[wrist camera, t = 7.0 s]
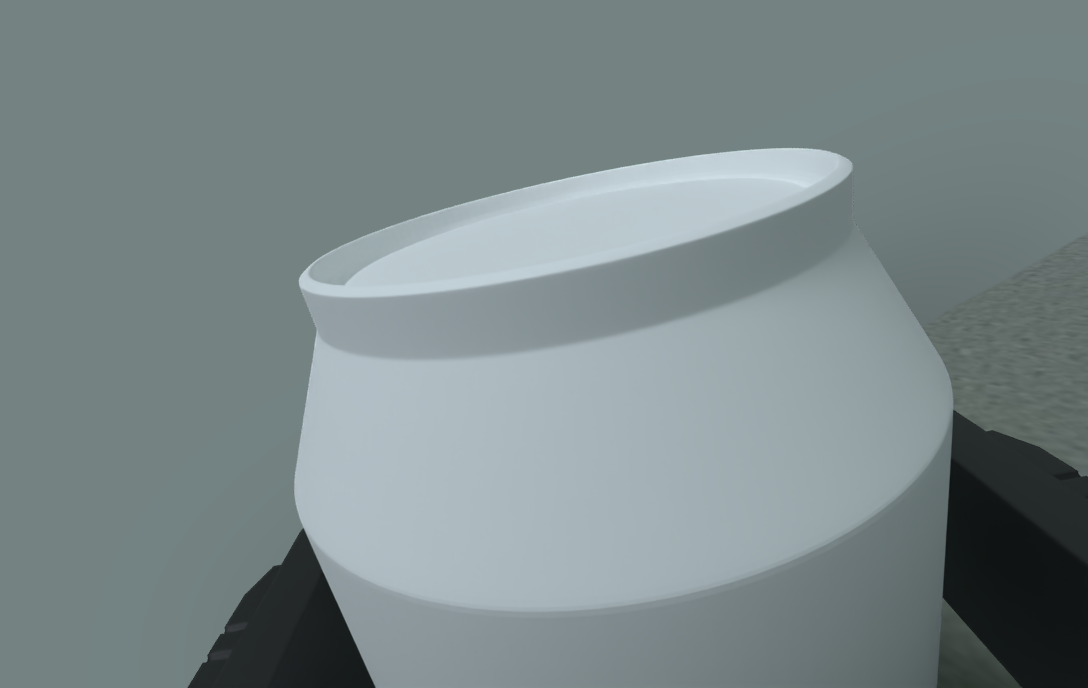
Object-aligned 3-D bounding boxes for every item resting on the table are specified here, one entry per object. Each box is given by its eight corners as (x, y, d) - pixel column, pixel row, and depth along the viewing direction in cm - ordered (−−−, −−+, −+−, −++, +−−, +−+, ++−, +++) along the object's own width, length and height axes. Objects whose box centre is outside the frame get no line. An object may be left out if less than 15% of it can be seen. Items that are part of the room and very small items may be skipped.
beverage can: (499, 782, 12) (295, 237, 8) (759, 683, 13) (704, 139, 9) (574, 1351, 6) (-41, 469, 2) (1036, 1109, 7) (1284, 109, 3)
